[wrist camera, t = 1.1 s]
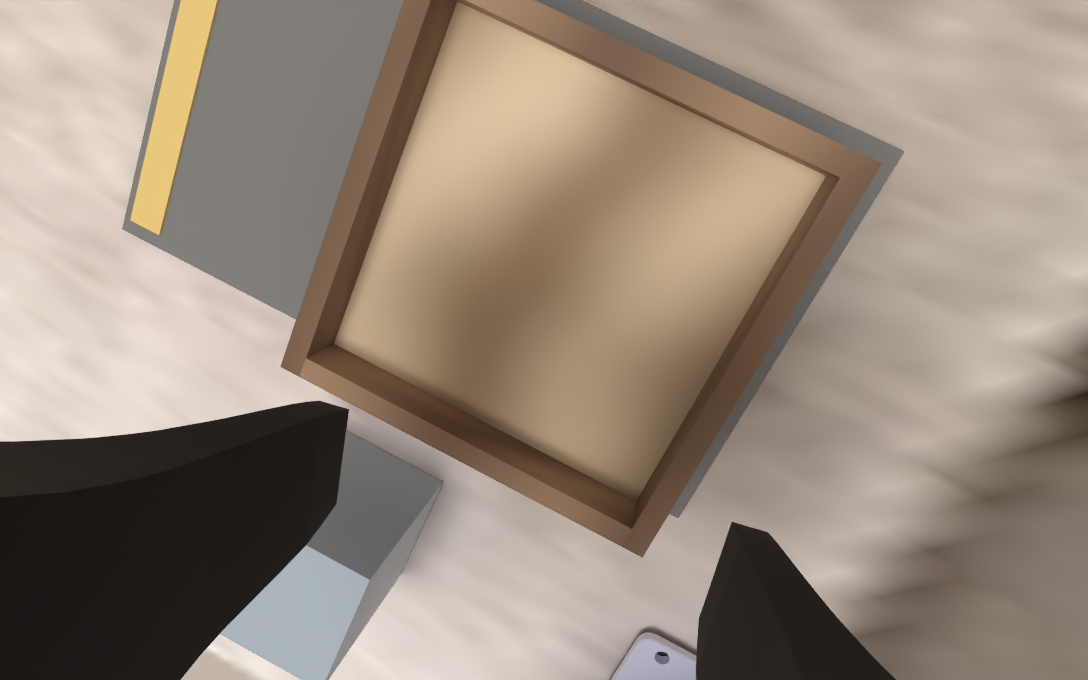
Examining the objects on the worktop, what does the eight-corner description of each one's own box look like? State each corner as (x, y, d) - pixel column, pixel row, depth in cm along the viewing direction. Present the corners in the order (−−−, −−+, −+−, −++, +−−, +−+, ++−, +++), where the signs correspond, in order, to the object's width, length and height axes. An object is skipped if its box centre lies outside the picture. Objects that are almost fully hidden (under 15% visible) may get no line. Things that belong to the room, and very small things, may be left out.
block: (443, 481, 24) (369, 579, 19) (401, 573, 26) (320, 690, 20) (336, 424, 25) (231, 504, 19) (300, 518, 26) (192, 618, 20)
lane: (901, 151, 18) (905, 151, 18) (678, 513, 23) (678, 519, 22) (220, -167, 20) (211, -173, 20) (128, 228, 24) (120, 229, 24)
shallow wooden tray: (834, 162, 18) (882, 163, 14) (651, 476, 22) (642, 557, 17) (483, -5, 19) (421, -54, 15) (359, 326, 23) (280, 366, 18)
